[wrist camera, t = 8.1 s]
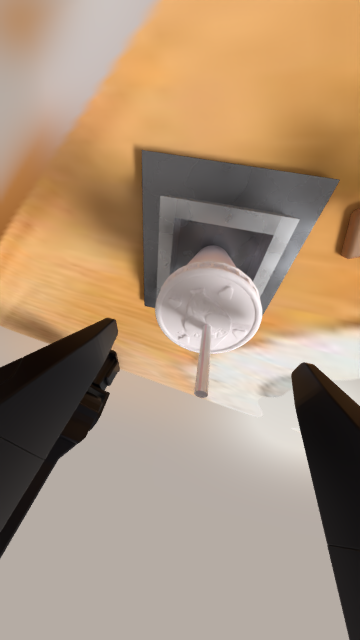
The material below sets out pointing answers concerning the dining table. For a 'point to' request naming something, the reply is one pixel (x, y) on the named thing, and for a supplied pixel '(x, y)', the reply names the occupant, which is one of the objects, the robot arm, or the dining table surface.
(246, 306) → the smoothie
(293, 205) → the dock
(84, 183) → the dining table surface
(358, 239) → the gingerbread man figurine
